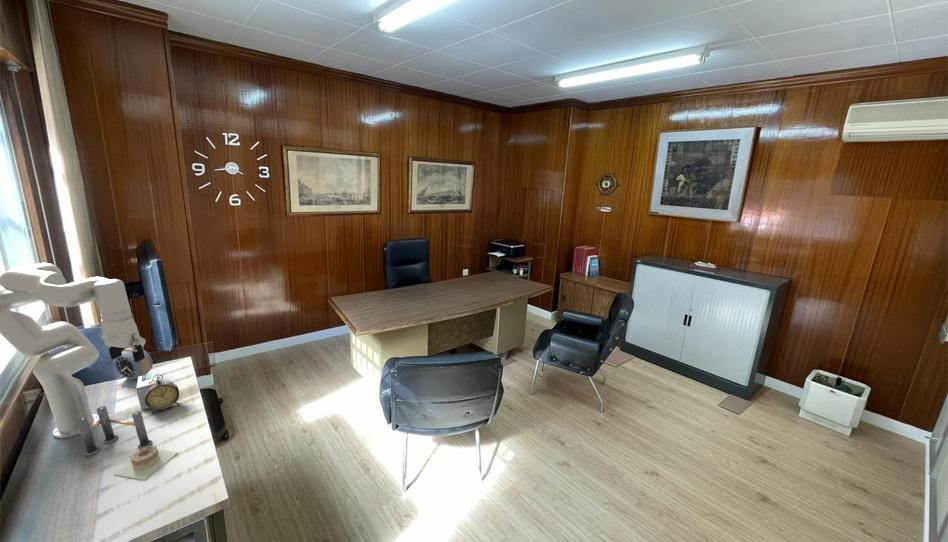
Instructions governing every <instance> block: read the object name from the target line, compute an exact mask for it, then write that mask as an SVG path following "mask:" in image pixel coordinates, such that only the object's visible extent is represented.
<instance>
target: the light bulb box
mask: <svg viewBox="0 0 948 542" xmlns="http://www.w3.org/2000/svg"><path fill="white" fill-rule="evenodd" d="M157 374H158V372H157V371H156V372H152V373H147V374H146V375H143V376H139V377H138V382H137V386H136V389H135V391H136V396H137V399H138V402H139V406H140V409H143V410H146V409H150V408H149V407H147V405H146V404H145V393H146V391H147V390H148V389H149V388H150V387H151V386H152V385H154V384H156V383H158V382H154V381H158V380H160V378H159V377H160V376H159V375H157ZM155 375H157V376H155ZM154 376H155V377H154ZM153 377H154V378H153ZM152 378H153V380H154V381H153V380H152ZM145 408H146V409H145Z"/></svg>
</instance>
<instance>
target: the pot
mask: <svg viewBox="0 0 948 542" xmlns="http://www.w3.org/2000/svg"><path fill="white" fill-rule="evenodd" d="M157 449H158V447H157V446H153V445H151V446H148V447H145V448H142V449H137V450H136V451H135V452H134V453H133V454H131V458H130V462H132V466H133V469H134V470H139V471H141V470H144V469H147V468H150V467H152V466H153V465H154V464H156V463H157V462H158V461H159V453H158V450H157Z"/></svg>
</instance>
